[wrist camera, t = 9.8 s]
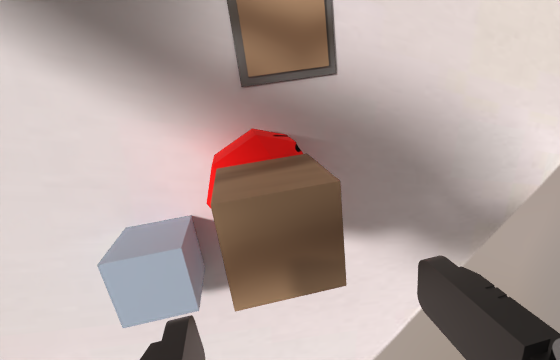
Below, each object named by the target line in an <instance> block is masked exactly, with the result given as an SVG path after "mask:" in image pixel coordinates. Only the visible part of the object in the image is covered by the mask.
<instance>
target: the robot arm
mask: <svg viewBox="0 0 560 360" xmlns="http://www.w3.org/2000/svg"><path fill="white" fill-rule="evenodd" d="M417 295H418V300H419V303H420V305H421V307H422V309H423V311H424V312H425V313H426V314H427V316H428V317H429V318H430V319H431V320H432V321H433V322H434V324H435V325H436V326H437V327H438V328H439V329H440V330H441V332H442V333H443V334H444V335H445V336H446V337H447V338H448V339H449V340H450V341H451V343H452V344H453V345H454V346H455V347H456V349H457V350H458V351H459V352H460V353H461V354H462V355H463V357H464V358H465V359H466V360H560V334H559V333H558V332H557V331H555V330H554V329H553V328H551V327H550V326H549V325H547V324H546V323H545V322H543V321H542V320H540V319H539V318H538V317H536V316H535V315H534V314H532V313H531V312H530V311H528V310H527V309H526V308H524V307H523V306H521V305H520V304H519V303H517V302H516V301H515V300H513V299H512V298H511V297H507V295H506V294H505V293H504V292H502V291H501V290H500V289H499V288H495V287H494V285H493V284H492V283H490V282H489V281H488V280H486V279H485V278H483V277H482V276H481V275H479V274H477V273H475V272H473V271H471V270H468V269H466V268H464V267H458V266H456V265H455V264H454V263H452V262H451V261H450V260H449V259H447V258H446V257H444V256H437V257H432V258H428V259H424V260H421V261H420V262H419V265H418V290H417ZM140 360H205V353H204V349H203V345H202V342H201V339H200V336H199V333H198V330H197V326H196V323H195V320H194V318H193V316H192V315H191V316H187V317H182V318H178V319H174V320H170V321H168V322H167V323H166V326H165V330H164V334H163V337H162V341H159V342H155V343H151V344H150V346H149V347H148V349H147V350H146V352H145V353H144V354H143V356H142V357H141V359H140Z"/></svg>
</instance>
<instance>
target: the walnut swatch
mask: <svg viewBox="0 0 560 360" xmlns="http://www.w3.org/2000/svg"><path fill="white" fill-rule="evenodd" d="M227 4H228V9H229V15H230V21H231V27H232V33H233V39H234V45H235V50H236V56H237V62H238V68H239V74H240V80H241V85H242V87H244V86H251V85H258V84H265V83H273V82H280V81H287V80H294V79H301V78H308V77H315V76H322V75H329V74H336V66H335V51H334V36H333V20H332V5H331V0H227Z"/></svg>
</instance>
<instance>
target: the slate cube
mask: <svg viewBox="0 0 560 360" xmlns="http://www.w3.org/2000/svg"><path fill="white" fill-rule="evenodd" d="M97 266H98V268H99V271H100V273H101V276H102V278H103V281H104V283H105V286H106V288H107V291H108V293H109V295H110V298H111V300H112V303H113V305H114V308H115V310H116V313H117V315H118V318H119V320H120V322H121V325H122V327H123V328H126V327H131V326H135V325H139V324H144V323H148V322H152V321H157V320H161V319H165V318H170V317H174V316H178V315H183V314H187V313H191V312H195V311H199V307H200V300H201V293H202V286H203V279H204V272H205V266H204V262H203V258H202V254H201V250H200V247H199V243H198V239H197V235H196V231H195V227H194V224H193V220H192V216H185V217H180V218H175V219H169V220H164V221H159V222H154V223H148V224H143V225H138V226H132V227H127V228H125V229H124V231H123V232H122V233H121V235H120V236H119V237H118V239H117V240H116V241H115V242H114V244H113V245H112V246H111V248H110V249H109V250H108V252H107V253H106V254H105V256H104V257H103V258H102V259H101V261H100V262H99V263H98V265H97Z"/></svg>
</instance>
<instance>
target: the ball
mask: <svg viewBox="0 0 560 360" xmlns="http://www.w3.org/2000/svg"><path fill="white" fill-rule="evenodd" d="M301 154H303V153H302V151H301V150H300V149H299V147H298V146H297V144H296V142H295V141H294V140H293V139H291V138H290V137H288V136H287V135H285V134H279V133H274V132H268V131H263V130H257V129H251V130H249V131H248V132H247V133H245V134H244V135H242V136H241V137H239V138H238V139H237V140H235V141H234V142H232V143H231V144H229V145H228V146H227V147H225V148H224V149H222V150H221V151H220V152H218V153H217V154H215V155H214V159H213V163H212V168H211V175H210V183H209V190H208V198H207V204H208V206H209V207H210V208H211V205H210V204H211V199H212V193H213V187H214V181H215V175H216V169H217V168H223V167H229V166H235V165H241V164H247V163H253V162H259V161H265V160H271V159H277V158H283V157H289V156H295V155H301Z"/></svg>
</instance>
